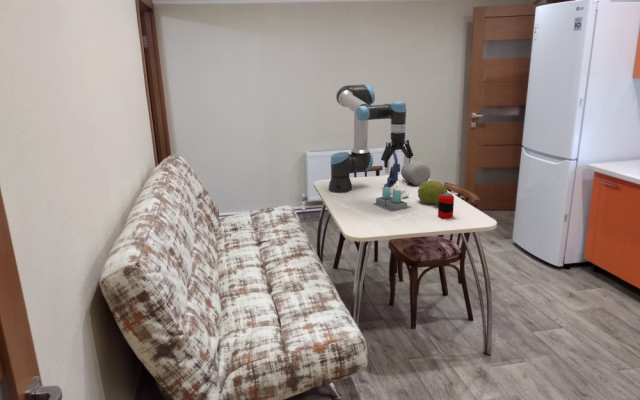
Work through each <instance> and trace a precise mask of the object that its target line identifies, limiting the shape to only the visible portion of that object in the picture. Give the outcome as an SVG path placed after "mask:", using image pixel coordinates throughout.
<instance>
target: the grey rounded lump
mask: <svg viewBox="0 0 640 400" xmlns="http://www.w3.org/2000/svg"><path fill="white" fill-rule="evenodd" d="M400 173H401V177H402V178H403V180H405V181H406V182H408V183H410V184H412V185H414V186H416V187H417V186H418V187H420V185H421V184H422V183H423V182H426V181H430V177H431V169H430V168H429V166H428V165H427V164H426V163H423V162H421V161H419V160H415V159H410V164H409V170H405V162H404V163H403V165H402V166H401V168H400ZM404 184H405V185H406V183H405V182H404Z"/></svg>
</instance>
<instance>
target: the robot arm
mask: <svg viewBox="0 0 640 400" xmlns="http://www.w3.org/2000/svg"><path fill="white" fill-rule="evenodd" d="M375 97H376V95H375V90H374V89H373V87H372V85H370V84H352V85H351V84H350V85H348V84H347V85H344V86H342V87H340V88H339V90H338V91H337V92H336V97H335V98H336V101H337V103H338V104H339V105H340V106H342V107H344V108H347V109H349V110H351V111H352V112H353V114H354V115H353V118H354V119H353V148H352V149H351V153H349V151H341V152H340V151H339V152H337V153H334V154H332V155H331V156H330V180H329V185H328V191H329V192H332V193H340V194H341V193H348V192H349V193H350V192H351V191H352V190H353V184H352V180H351V179H350V173H359V172H360V173H361V172H362V173H364V172H367V171H369V170H371V169H372V167H373V164H374V156H373V154H372V152H370V149H369V148H368V143H369V142H368V137H369V136H368V135H369V134H368V133H369V131H368V130H369V129H368V128H369V121H373V120H375V121H376V120H386V119H389V120H390V132H391V133H390V141H391V142H389V141H388V142H386V143H385V148H384V151H383V153H382V155H381V157H380V161H383V168H384V174H387V175H390V159H391V157H392V156H393V153H394V151H395V152H396V151H398V150H401V152H402V153H403V154H404V156H405V157H404V163H405V170H409V164H410V160H411V159H412V158H413V157H414V153H413V150H412V148H411V145H410V140H409V139H406V132H405V131H406V123H407V122H406V120H407V119H406V118H407V104H406V102H405V101H393V102H391V103H384V104H374V103H375V99H376V98H375ZM390 147H391V148H390Z"/></svg>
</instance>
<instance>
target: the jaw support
mask: <svg viewBox="0 0 640 400" xmlns="http://www.w3.org/2000/svg"><path fill="white" fill-rule="evenodd" d="M396 190H398V191H401V200H403V199H405V198H406V197H407V198H408V196H409V195H410V193H409V192H408V190H407V191H406V188H403V187H401V185H400V183H397V182H396V183H395V184H394V185H393V186H392V187H390V197H392V198H393V191H396Z"/></svg>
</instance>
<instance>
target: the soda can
mask: <svg viewBox="0 0 640 400" xmlns="http://www.w3.org/2000/svg"><path fill="white" fill-rule="evenodd" d="M454 203H455V196H454V195H453V194H452V193H450V192H447V193H441V195H440V196H439V202H438V205H437V217H438V218H440V219H443V220H447V219H448V220H449V219H452V218H453V217H454V205H455V204H454Z"/></svg>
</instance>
